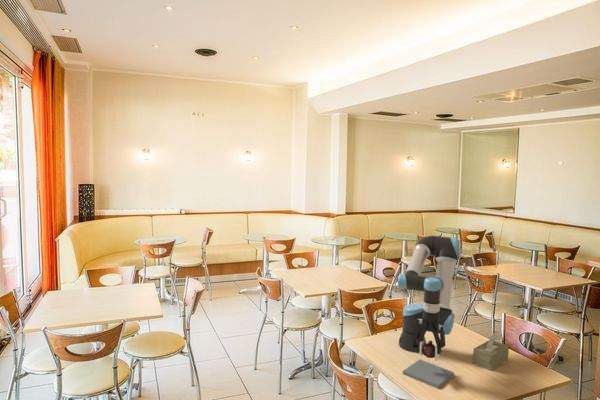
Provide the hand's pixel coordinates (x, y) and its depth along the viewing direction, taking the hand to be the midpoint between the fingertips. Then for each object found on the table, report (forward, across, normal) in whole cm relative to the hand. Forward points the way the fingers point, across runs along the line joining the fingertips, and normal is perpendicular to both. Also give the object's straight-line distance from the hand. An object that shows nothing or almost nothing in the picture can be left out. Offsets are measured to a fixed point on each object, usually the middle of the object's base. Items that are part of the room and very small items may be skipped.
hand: (429, 357), depth 192 cm
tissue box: (+9, +16, +36) cm, 41 cm away
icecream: (0, 0, +1) cm, 1 cm away
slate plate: (+9, 0, 0) cm, 9 cm away
